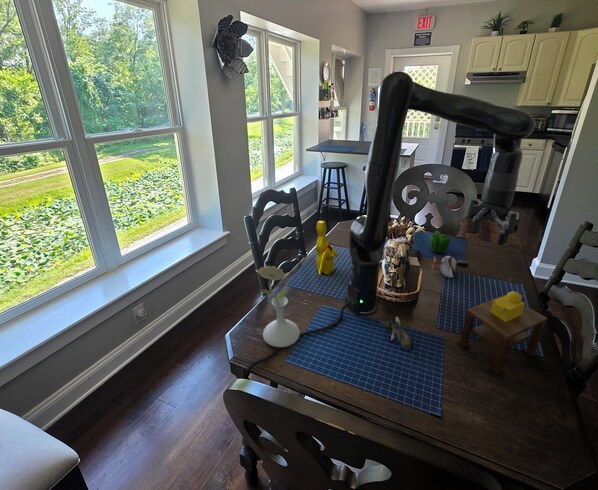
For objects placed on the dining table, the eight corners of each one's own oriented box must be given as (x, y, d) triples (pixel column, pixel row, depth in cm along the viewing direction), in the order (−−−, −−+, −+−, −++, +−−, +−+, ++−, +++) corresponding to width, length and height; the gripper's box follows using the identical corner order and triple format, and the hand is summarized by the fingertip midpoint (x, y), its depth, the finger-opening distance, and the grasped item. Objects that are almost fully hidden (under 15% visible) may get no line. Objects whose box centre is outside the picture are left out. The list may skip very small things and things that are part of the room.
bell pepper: (449, 249, 150) (452, 230, 147) (446, 257, 144) (449, 237, 140) (430, 245, 155) (433, 226, 151) (426, 252, 148) (429, 233, 144)
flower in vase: (306, 332, 102) (305, 264, 92) (287, 356, 93) (283, 283, 83) (272, 319, 108) (268, 253, 98) (251, 340, 99) (244, 271, 89)
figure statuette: (323, 282, 127) (324, 232, 119) (306, 277, 131) (306, 228, 123) (342, 263, 141) (344, 217, 133) (326, 258, 145) (327, 213, 136)
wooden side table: (496, 374, 86) (508, 336, 80) (459, 344, 96) (467, 309, 91) (534, 354, 92) (547, 318, 87) (495, 328, 102) (504, 294, 97)
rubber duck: (503, 323, 85) (509, 303, 83) (488, 313, 89) (493, 293, 86) (524, 313, 88) (530, 294, 86) (508, 304, 92) (513, 285, 90)
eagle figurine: (375, 333, 99) (396, 347, 91) (384, 311, 100) (405, 324, 92) (391, 337, 103) (413, 352, 95) (400, 317, 103) (422, 329, 95)
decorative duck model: (466, 252, 134) (485, 270, 120) (461, 268, 137) (479, 287, 123) (431, 250, 134) (445, 267, 120) (427, 265, 137) (441, 284, 123)
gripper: (468, 181, 94) (458, 231, 100) (515, 195, 82) (500, 251, 88) (486, 178, 97) (475, 227, 103) (534, 191, 85) (519, 246, 91)
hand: (487, 238), depth 96 cm, fingers open, 8 cm apart
